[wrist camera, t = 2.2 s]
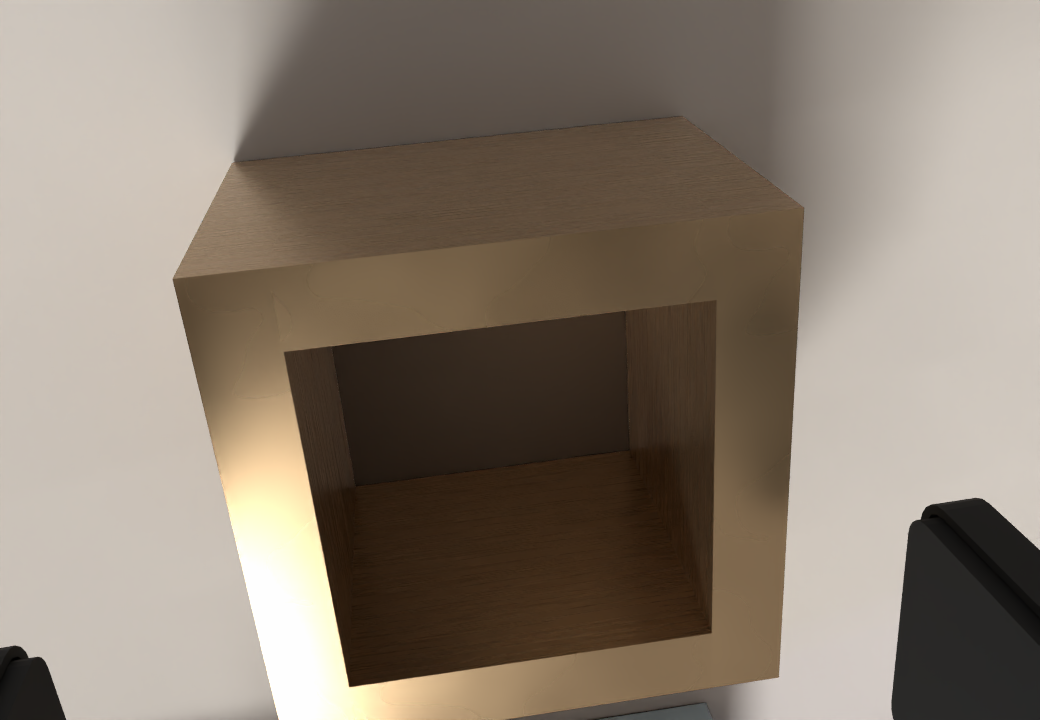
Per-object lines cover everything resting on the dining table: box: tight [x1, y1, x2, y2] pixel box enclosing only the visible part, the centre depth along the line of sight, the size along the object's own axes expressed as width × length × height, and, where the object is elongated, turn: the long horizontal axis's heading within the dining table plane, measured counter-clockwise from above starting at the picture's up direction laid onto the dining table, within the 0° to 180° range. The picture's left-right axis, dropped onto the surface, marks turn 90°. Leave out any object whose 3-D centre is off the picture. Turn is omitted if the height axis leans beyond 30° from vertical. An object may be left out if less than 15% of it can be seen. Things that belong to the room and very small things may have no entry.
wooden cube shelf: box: [173, 116, 804, 720], centre depth 15 cm, size 7×7×5 cm
